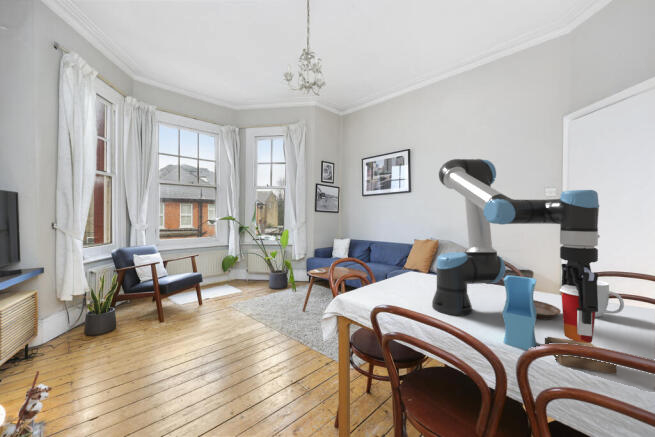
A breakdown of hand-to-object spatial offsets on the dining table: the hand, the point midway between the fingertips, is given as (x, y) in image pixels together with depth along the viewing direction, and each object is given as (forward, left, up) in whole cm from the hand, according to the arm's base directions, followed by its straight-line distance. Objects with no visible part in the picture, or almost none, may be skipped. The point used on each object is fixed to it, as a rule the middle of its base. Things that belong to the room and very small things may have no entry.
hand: (577, 329), depth 72 cm
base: (0, 0, -8) cm, 8 cm away
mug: (+21, +42, -8) cm, 47 cm away
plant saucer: (0, +37, -9) cm, 38 cm away
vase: (-12, +5, -8) cm, 16 cm away
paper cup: (0, 0, -3) cm, 3 cm away
